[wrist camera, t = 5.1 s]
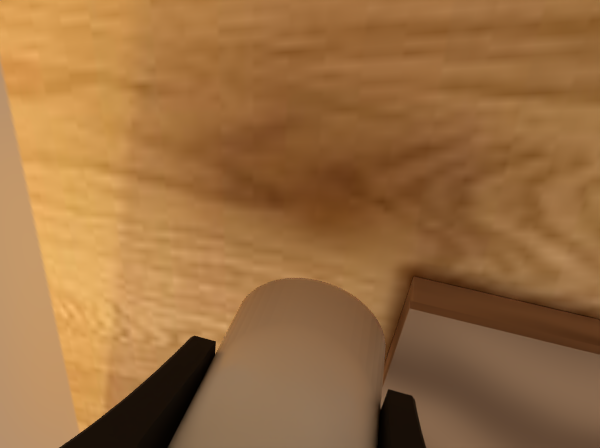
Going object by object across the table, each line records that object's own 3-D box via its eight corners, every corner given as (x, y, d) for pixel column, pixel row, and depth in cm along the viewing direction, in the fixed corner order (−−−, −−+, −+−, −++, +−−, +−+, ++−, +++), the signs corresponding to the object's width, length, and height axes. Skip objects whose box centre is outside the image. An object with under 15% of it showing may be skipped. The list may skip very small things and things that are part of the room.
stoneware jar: (239, 261, 13) (102, 493, 7) (402, 300, 12) (389, 586, 6) (233, 370, 15) (127, 606, 9) (368, 407, 14) (338, 681, 9)
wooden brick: (410, 271, 20) (409, 308, 18) (701, 339, 18) (738, 388, 16) (368, 399, 24) (364, 440, 22) (597, 461, 23) (615, 512, 21)
